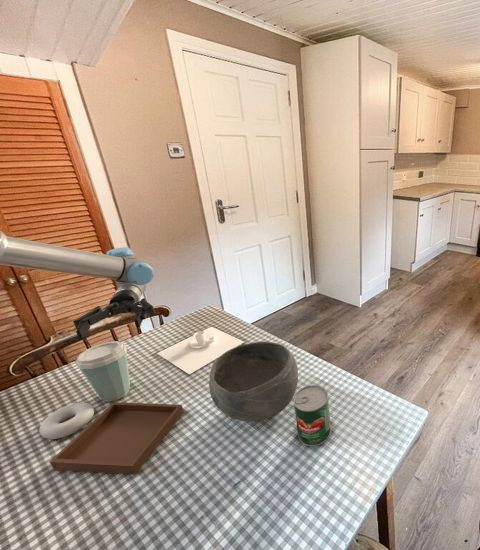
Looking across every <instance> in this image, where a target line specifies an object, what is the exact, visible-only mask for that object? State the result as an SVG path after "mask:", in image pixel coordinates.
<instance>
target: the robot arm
mask: <svg viewBox="0 0 480 550" xmlns="http://www.w3.org/2000/svg"><path fill="white" fill-rule="evenodd" d="M0 266H8V267H15V268H21V269H31V270H39V271H47V272H53V273H62V274H68V275H77V276H84V277H91V278H99V279H107V280H114V281H115V283H116V286H117V288H116V291H115V292H114V293H113V295H112V297H111V298H110V300H109V303H108V305H106V306H105V307H101V305H97V306H95V307H94V308H93V309H91V310H89V311H87V312H86V313H84V314H83V315H80V317H78V318H76V319H74V320H73V321H72V322H73V325H74V327H75V329H76V331H75V333H76V335H77V338H78V340H84V338H85V337H86V335H87V334H88V332H89V331H90V329H91V326H94V325H95V324H97V323H99V322H101V321H103V320H105V319H110V318H113V317H115V316H118V315H121V314H135V318H134V323H135V327H136V328H141V325H142V323H143V321H144V320H146V319H147V318H148V317H149V315H155V314H156V311H155V308H154V306H153V305H152V304H151V303H149V302H148V301H147V299H146V298H145V297H144V298H142V295H143V294H144V292H145V291H146V286H147V284H149V283H151V282H152V281H153V279H154V277H155V271H154V270H155V269H154V268H153V267H152V266H151V265H150V264H148V263H147V262H144V261H142V260H140V259H138V258H136V257H135V253H134V252H133V250H132V248H130V247H116V248H113V249H110V250H108V251H106V254H104V253H99V252H94V251H90V250H89V251H88V250H83V249H79V248H78V249H77V248H72V247H67V246H62V245H56V244H51V243H46V242H41V241H34V240H29V239H24V238H18V237H13V236H8V235H6V234H5V233H4V232H3V231H1V230H0Z"/></svg>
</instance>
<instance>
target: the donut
mask: <svg viewBox="0 0 480 550" xmlns="http://www.w3.org/2000/svg"><path fill="white" fill-rule="evenodd" d="M94 414H95V407H94V406H93V405H92V404H91V403H89V402H74V403H70V404H67V405H65V406H62V407H60V408H59V409H56V410H55V411H54V412H52V413H50V414H49V415H48V416H47V417H45V418H44V419H43V421H42V423H41V424H40V426H39V431H38V432H39V434H40V435H41V437H42V438H44V439H48V440H57V439H63V438H65V437H68V436H71V435H73V434H75V433H77V432H79V431H80V430H81V429H83V428H84V427H85V426H86V425H88V423H90V421H91V420H92V418H93V416H94Z"/></svg>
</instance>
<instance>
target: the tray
mask: <svg viewBox="0 0 480 550" xmlns="http://www.w3.org/2000/svg"><path fill="white" fill-rule="evenodd" d="M184 413H185V411H184V408H183V405H182V404H174V403H173V404H172V403H171V404H170V403H148V402H121V401H112V403H110V405H109V406H108V407H106V408H105V410H103V411H102V412H101V413H100V414H99V415H98V416H97V417H96V418H95V419H94V420H93V421H91V422H90V423H89V424H87V426H86V427H85V428H84V429H83V430H82V431H81V432H80V433H78V434H77V435H76V436H75V437H74V438H73V439H72V440H71V441H69V442H68V444H66V446H64V447H63V448H62V449H61V450H60V451H59V452H58V453H57V454H56V455H55V456H54V457H52V459H50V460H49V461H48V462H49V464H50V466H51V467H52V469H53V471H64V472H65V471H67V472H84V473H85V472H86V473H104V474H120V475H122V474H123V475H137V474H138V473H139V471H140V470H141V469H142V468H143V466H144V465H145V464H146V462H147V461H148V459H149V458H150V457H151V456H152V454H153V453H154V452H155V450H156V449H157V448H158V446H159V445H160V444H161V443H162V441H163V440H164V439H165V438H166V436H167V435H168V434H169V432H170V431H171V430H172V428H174V426H175V425H176V423H177V422H178V421H179V419H180V418H181V417H182V416H183V414H184Z"/></svg>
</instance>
